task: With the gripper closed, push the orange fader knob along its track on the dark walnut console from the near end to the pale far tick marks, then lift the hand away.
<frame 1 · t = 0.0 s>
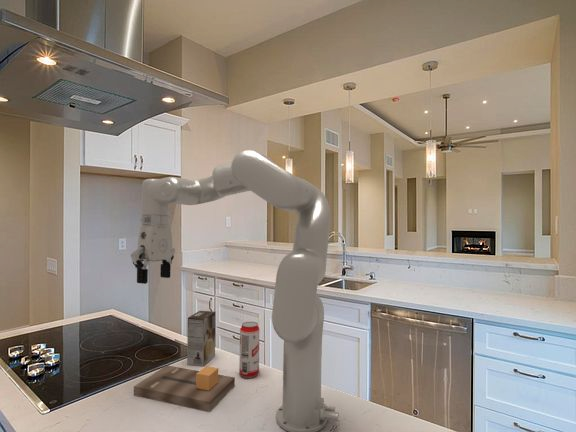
hand: (154, 280, 96), 31 cm above the worktop, tool pointing down, fingers open, 9 cm apart
beer can: (249, 375, 105), on the worktop
console: (185, 390, 94), on the worktop
fader: (207, 377, 92), point 5 cm above the worktop, slide at 0.0 cm
coffee box: (201, 360, 115), on the worktop
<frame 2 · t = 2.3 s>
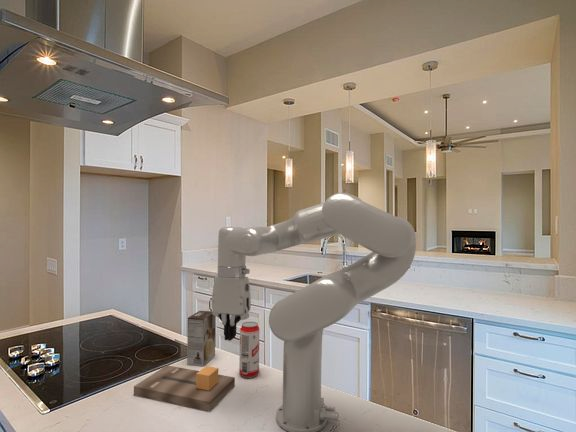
hand: (229, 338, 90), 17 cm above the worktop, tool pointing down, fingers closed
nothing on the worktop moved.
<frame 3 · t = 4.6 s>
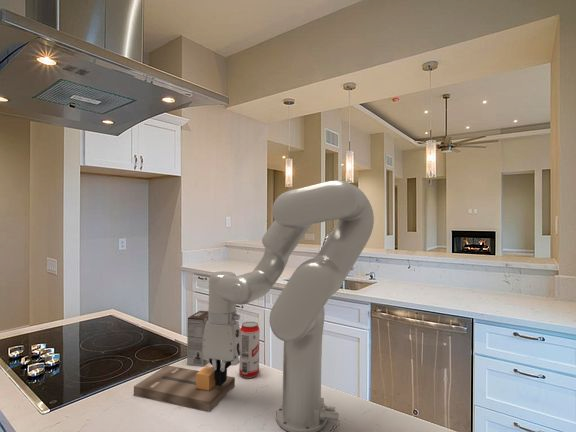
hand: (220, 383, 91), 4 cm above the worktop, tool pointing down, fingers closed
fader: (207, 377, 92), point 5 cm above the worktop, slide at 0.0 cm, touching gripper
everything else where it was.
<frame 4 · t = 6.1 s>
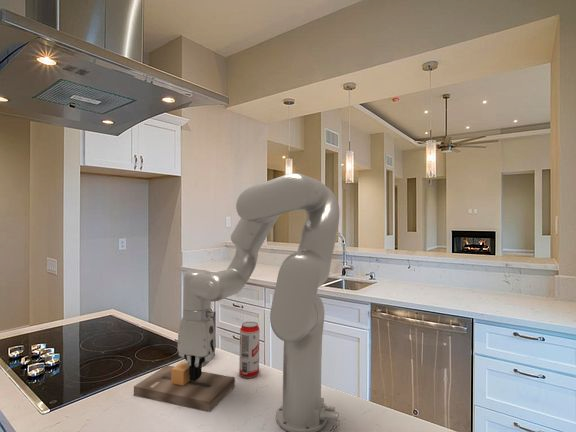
hand: (195, 378, 93), 4 cm above the worktop, tool pointing down, fingers closed
fader: (182, 373, 95), point 5 cm above the worktop, slide at 8.1 cm, touching gripper
everything else where it was.
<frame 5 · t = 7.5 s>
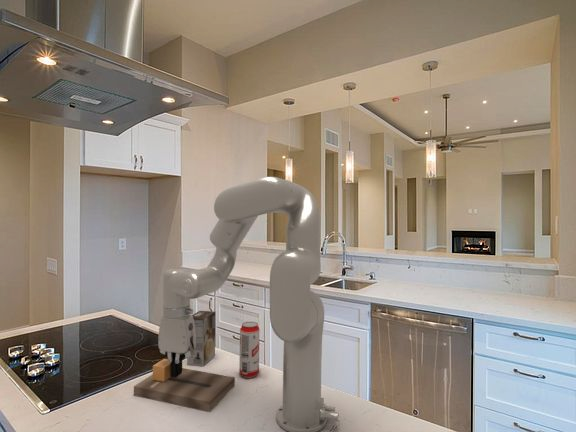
hand: (176, 375, 95), 4 cm above the worktop, tool pointing down, fingers closed
fader: (164, 369, 97), point 5 cm above the worktop, slide at 14.5 cm, touching gripper
everything else where it was.
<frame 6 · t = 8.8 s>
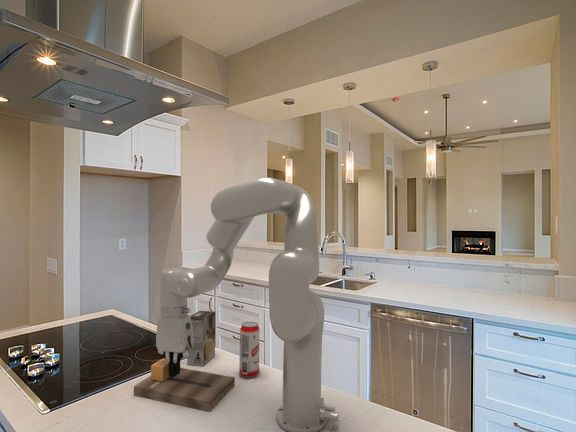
hand: (174, 374, 96), 4 cm above the worktop, tool pointing down, fingers closed
fader: (162, 369, 97), point 5 cm above the worktop, slide at 15.1 cm, touching gripper
everything else where it was.
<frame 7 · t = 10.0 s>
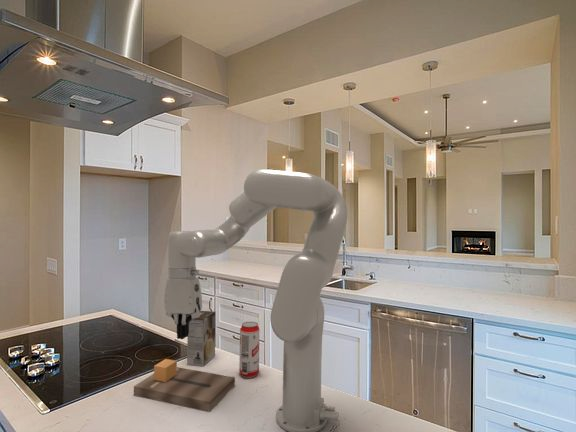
hand: (182, 337, 95), 15 cm above the worktop, tool pointing down, fingers closed
fader: (165, 370, 96), point 5 cm above the worktop, slide at 14.0 cm
everything else where it was.
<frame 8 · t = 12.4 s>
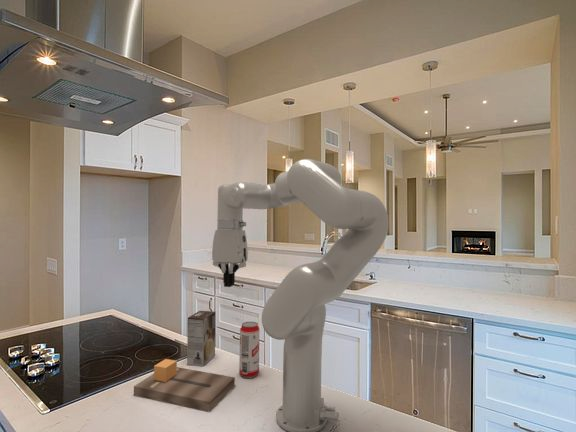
hand: (228, 285, 99), 29 cm above the worktop, tool pointing down, fingers closed
nothing on the worktop moved.
at the end: fader slide at 14.0 cm; coffee box moved 0.2 cm from its start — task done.
